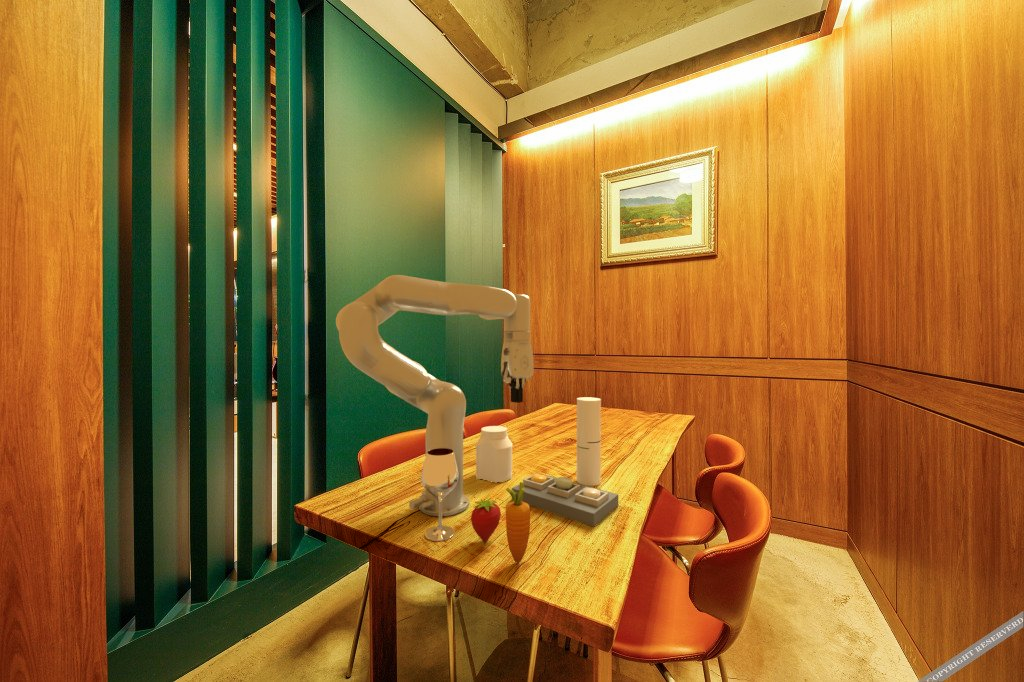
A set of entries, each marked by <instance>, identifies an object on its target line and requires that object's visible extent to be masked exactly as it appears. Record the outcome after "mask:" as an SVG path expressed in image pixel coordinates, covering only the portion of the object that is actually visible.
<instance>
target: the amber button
mask: <svg viewBox="0 0 1024 682" xmlns="http://www.w3.org/2000/svg"><path fill="white" fill-rule="evenodd" d="M535 474H536V475H534V474H532V475H530V476H531V481H533V482H537V483H540V484H542V483H544V482H546V476H545V475H546V474H543V475H540V474H541V473H540V474H539V473H535Z"/></svg>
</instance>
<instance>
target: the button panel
mask: <svg viewBox="0 0 1024 682" xmlns="http://www.w3.org/2000/svg"><path fill="white" fill-rule="evenodd" d="M536 474H537V473H533V475H536ZM540 475H545V476H546V482H544V483H542V484H540V483H537V482H533V481H531V476H532V475H530V476H528V477H526V478H523V479H522V482H523V483H524V490H525V492H524V494H523V498H522V501H523V502H525V503H527V504H528V505H529V507H533V508H536V507H537V509H539V508H540V510H542V511H545V512H548V513H550V514H554V515H556V516H560V517H563V518H566V519H569V520H571V521H572V520H573V521H575V522H579V523H581V524H585V525H587V526H589V527H593V528H594V527H595V525H596V524H600V523H601V521H603V520H604V519H605V518H606V517H607V516H608V515H610V514H611V513H612V512H613V511H614V510H615V509H617V508H618V507H619V494H617V493H614V492H610V491H607V490H603V489H600V488H595V487H593V486H587V485H582V484H580V483H578V482H573V481H572V487H571V488H569V489H561V488H558V487H556V478H557V477H555V476H550V475H546V474H542V473H540ZM519 486H520V483H519V484H518V485H515V486H513V487H511V490H513V491H514V493H517V498H518V494H519ZM587 488H594V489H597V490H599V491H600V497H599V498H598V499H593V498H590V497H586V496H583V490H584V489H587ZM616 507H617V508H616ZM612 510H613V511H612ZM611 511H612V512H611ZM610 512H611V513H610ZM609 513H610V514H609ZM604 517H605V518H604ZM603 518H604V519H603ZM602 519H603V520H602ZM596 526H597V525H596Z"/></svg>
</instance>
